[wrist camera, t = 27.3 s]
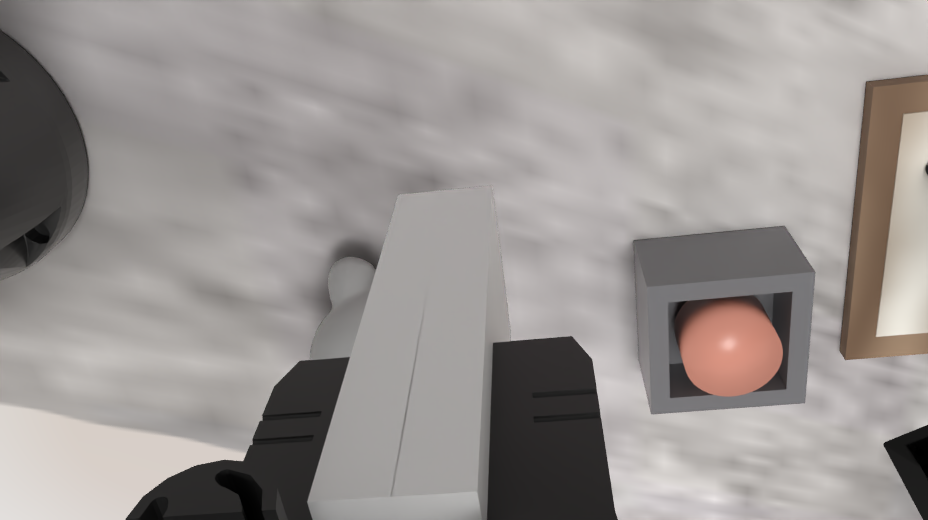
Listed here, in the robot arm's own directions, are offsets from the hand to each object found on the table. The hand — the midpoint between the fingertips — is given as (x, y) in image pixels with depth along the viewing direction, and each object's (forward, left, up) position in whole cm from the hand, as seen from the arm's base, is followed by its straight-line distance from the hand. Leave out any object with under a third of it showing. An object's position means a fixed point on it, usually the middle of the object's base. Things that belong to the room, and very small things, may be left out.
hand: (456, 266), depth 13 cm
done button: (+10, -19, -25) cm, 33 cm away
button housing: (+10, -19, -28) cm, 35 cm away
